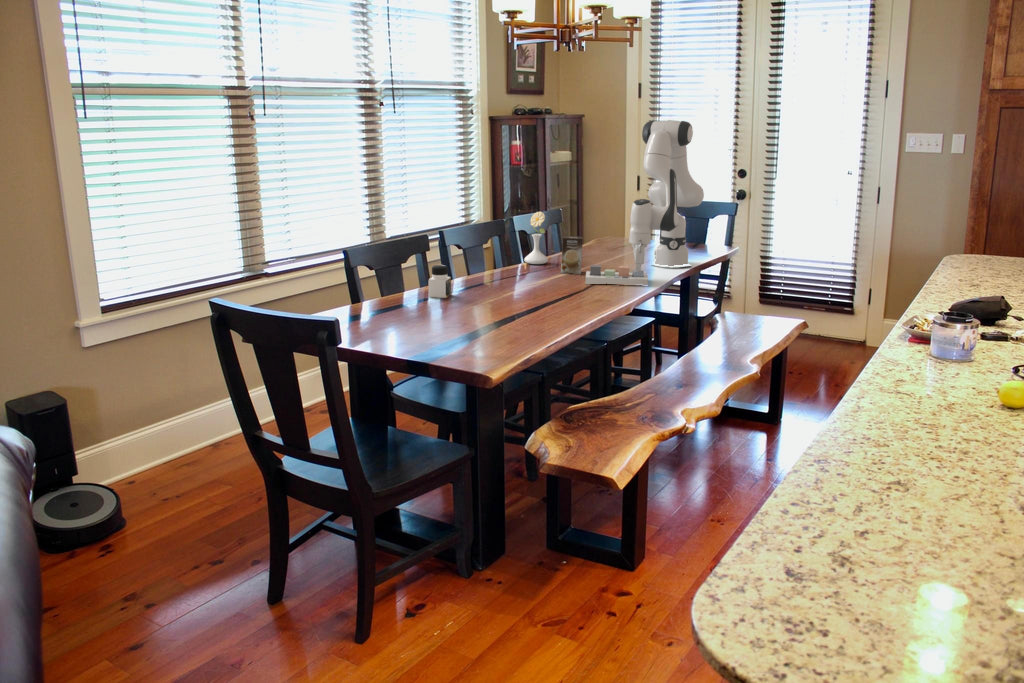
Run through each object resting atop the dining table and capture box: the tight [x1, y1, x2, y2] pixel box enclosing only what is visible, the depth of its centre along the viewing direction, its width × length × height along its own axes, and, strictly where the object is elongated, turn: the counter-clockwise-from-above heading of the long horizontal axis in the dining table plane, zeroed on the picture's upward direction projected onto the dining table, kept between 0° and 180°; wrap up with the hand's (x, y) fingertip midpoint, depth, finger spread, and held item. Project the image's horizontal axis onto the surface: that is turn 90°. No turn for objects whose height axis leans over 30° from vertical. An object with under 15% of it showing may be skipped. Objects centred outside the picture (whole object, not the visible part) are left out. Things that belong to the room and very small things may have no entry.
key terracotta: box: [618, 265, 630, 277], centre depth 365 cm, size 4×4×4 cm
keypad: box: [584, 270, 649, 286], centre depth 366 cm, size 14×26×3 cm, turn 84°
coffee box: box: [560, 235, 583, 275], centre depth 384 cm, size 9×6×16 cm
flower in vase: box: [523, 211, 549, 265], centre depth 403 cm, size 13×11×25 cm
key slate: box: [632, 269, 645, 277], centre depth 365 cm, size 4×4×4 cm
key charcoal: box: [589, 264, 602, 276], centre depth 367 cm, size 4×4×4 cm
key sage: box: [603, 268, 616, 276], centre depth 367 cm, size 4×4×4 cm
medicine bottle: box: [428, 264, 452, 299], centre depth 335 cm, size 7×7×12 cm
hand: (638, 271), depth 365 cm, fingers closed, pressing on key slate
